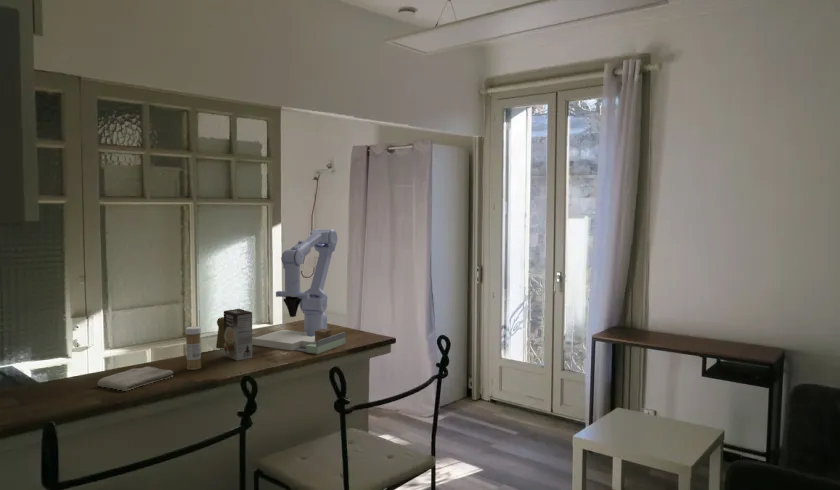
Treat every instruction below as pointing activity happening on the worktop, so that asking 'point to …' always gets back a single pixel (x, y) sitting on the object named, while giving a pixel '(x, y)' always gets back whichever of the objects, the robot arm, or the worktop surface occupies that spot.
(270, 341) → the trap deck
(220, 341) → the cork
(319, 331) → the walnut block
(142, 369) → the washcloth
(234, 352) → the coffee box
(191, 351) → the sprinkles bottle
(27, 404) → the worktop surface
